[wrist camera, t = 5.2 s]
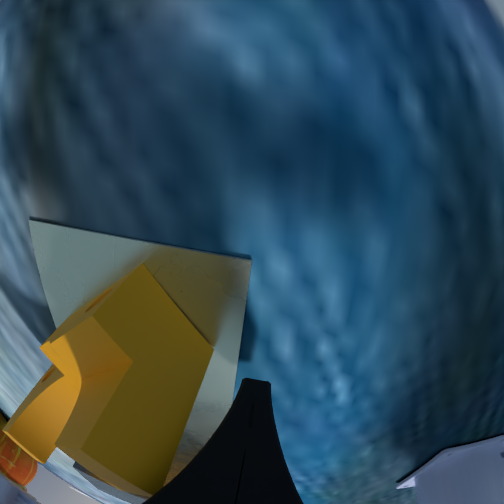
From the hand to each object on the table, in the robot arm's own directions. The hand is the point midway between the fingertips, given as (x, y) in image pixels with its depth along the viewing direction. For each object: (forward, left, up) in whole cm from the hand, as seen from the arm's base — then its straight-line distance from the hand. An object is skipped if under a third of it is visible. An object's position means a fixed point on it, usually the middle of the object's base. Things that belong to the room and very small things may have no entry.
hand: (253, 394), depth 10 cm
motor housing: (+7, +6, -1) cm, 10 cm away
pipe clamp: (+8, +1, -2) cm, 8 cm away
